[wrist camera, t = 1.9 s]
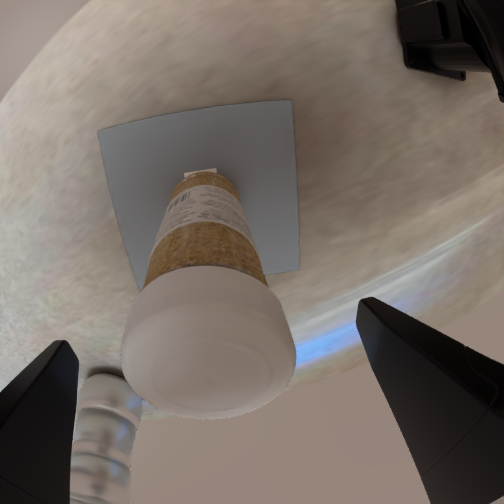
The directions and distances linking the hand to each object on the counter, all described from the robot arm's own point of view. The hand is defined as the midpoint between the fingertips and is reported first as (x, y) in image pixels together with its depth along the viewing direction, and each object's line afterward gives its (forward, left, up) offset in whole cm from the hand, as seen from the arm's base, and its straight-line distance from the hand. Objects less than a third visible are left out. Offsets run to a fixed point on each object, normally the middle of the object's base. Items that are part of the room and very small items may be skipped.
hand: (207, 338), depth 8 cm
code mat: (0, 0, -12) cm, 12 cm away
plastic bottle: (+13, +17, -12) cm, 25 cm away
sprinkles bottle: (0, 0, -12) cm, 12 cm away
